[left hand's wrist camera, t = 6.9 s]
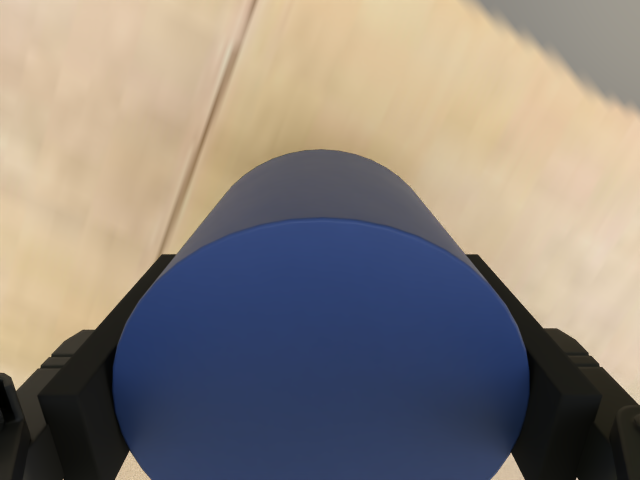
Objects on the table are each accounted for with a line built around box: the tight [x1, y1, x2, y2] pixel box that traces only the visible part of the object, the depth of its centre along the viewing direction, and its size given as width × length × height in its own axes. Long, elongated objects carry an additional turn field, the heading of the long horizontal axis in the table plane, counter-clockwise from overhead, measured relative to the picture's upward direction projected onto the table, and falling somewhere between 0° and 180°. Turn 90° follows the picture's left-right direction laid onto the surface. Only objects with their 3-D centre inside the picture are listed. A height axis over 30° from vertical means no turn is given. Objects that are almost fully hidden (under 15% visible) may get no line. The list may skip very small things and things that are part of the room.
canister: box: [112, 150, 530, 480], centre depth 12 cm, size 9×9×8 cm
